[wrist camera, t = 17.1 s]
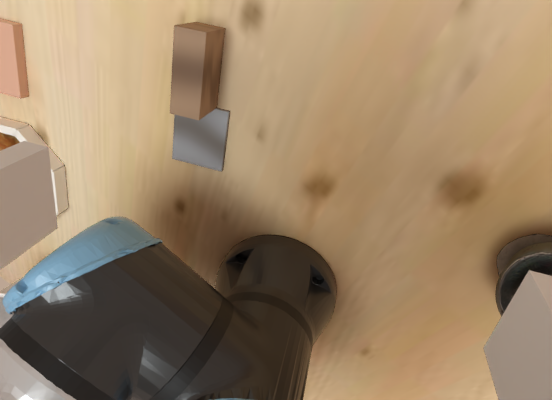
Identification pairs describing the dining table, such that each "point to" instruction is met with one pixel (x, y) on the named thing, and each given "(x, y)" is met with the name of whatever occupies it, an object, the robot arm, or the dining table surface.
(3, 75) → the tile
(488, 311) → the dining table surface
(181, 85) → the tall brown block
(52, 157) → the dish rim
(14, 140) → the pastry
